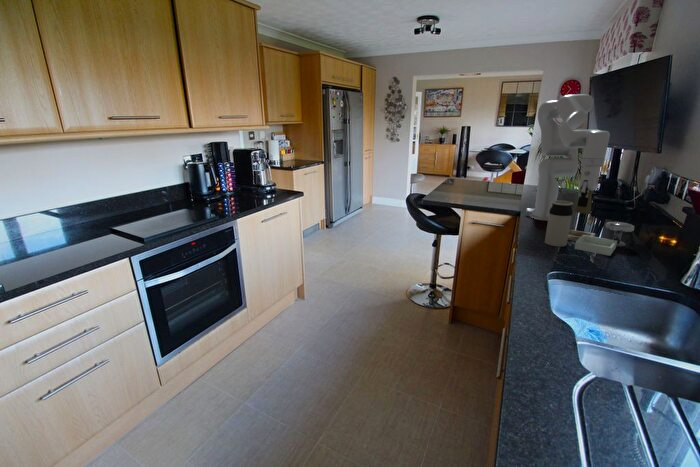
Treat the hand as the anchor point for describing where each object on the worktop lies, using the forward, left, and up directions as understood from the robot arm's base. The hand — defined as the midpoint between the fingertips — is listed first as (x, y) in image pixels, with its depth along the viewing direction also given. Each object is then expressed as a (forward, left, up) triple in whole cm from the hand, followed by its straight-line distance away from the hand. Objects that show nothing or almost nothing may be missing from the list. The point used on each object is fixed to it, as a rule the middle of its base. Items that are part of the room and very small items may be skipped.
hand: (583, 204), depth 141 cm
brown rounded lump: (0, 0, -3) cm, 3 cm away
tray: (+9, -11, -15) cm, 20 cm away
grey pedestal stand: (+14, 0, -15) cm, 20 cm away
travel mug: (-5, -15, -15) cm, 22 cm away
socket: (+1, -1, -15) cm, 15 cm away
